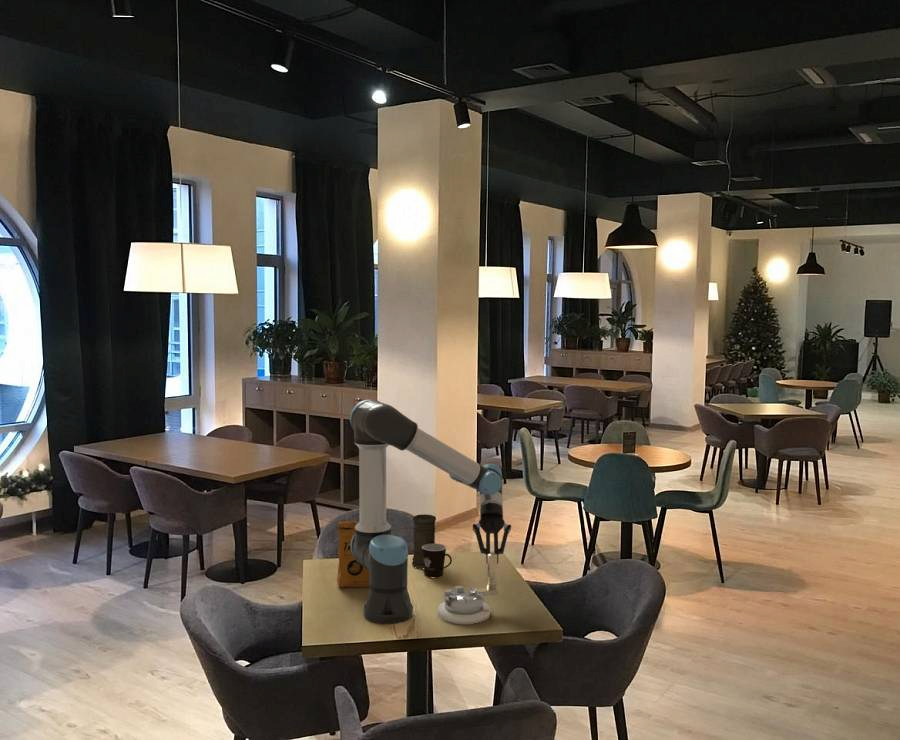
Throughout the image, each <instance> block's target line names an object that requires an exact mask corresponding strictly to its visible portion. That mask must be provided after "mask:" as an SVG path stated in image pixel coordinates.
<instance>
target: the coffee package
mask: <svg viewBox="0 0 900 740" xmlns="http://www.w3.org/2000/svg"><path fill="white" fill-rule="evenodd" d="M358 523H359V521H338V522H337V529H338V541H339V543H338V545H339V546H338V551H337V554H338V566H337V575H336V576H337V578H336V583H337V586H338V587H339V588H340V587H343V588H369V585H370V584H369V571H368V570H367V569H366V568H365V567H364V566H362V565H361V564H360V563H358V562H357V561H356V559H355V558H354V556H353V554H352V552H351V540H352V537H353V535H354V534H355V526H356V525H357V524H358Z"/></svg>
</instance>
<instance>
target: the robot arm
mask: <svg viewBox="0 0 900 740" xmlns="http://www.w3.org/2000/svg"><path fill="white" fill-rule="evenodd" d="M349 415H350V416H349V423H350V425H351V428H352V429H353V434H354V438H353V439H354V441H353V442H354V445H356V446H357V447H358V452H359V453H358V455H359V456H358V457H359V459H358V461H359V462H358V464H359V465H358V467H359V468H358V469H359V470H358V471H359V474H358V475H359V476H358V478H359V483H358V484H359V485H358V486H359V487H358V488H359V498H358V501H359V505H358V507H359V508H358V509H359V521H358V522H359V523H358V524H357V525H356V526H355V534H354V535H353V537H352V540H351V552H352V554H353V556H354V558H355V559H356V561H357V562H358V563H360V564H361V565H362V566H364V567H365V568H366V569H367V570H368V571H369V584H370V585H369V587H368V588H369V590H368V593H367V596H366V601H365V604H364V606H363V617H364V619H366V620H368V621H370V622H372V623H373V622H374V623H378V624H397V623H401V622H405V621H407V620H409V619H411V618H412V617H413V616H414V615H413V614H414V606H413V604H412V601H411V597H410V594H409V591H408V569H409V568H408V567H409V566H408V565H409V564H408V563H409V561H408V557H409V551H408V544H407V542H406V540H404V539H403V538H402V537H400V536H397V535H396V536H395V535H393V534H392V526H391V524H390V523H389V522H388V521H387V448H388V446H390V447H391V446H392V447H394V448H396V449H397V450H399V451H407V452H409V453H411V454H413V455H415V456H416V457H419V458H420V459H422V460H424V461H426V462H427V463H429V464H430V465H432V466H434V467H436V468H438V469H440V470H441V471H443V472H445V473H446V474H448V476H449V477H450V479H451V480H453V481H455V482H457V483H460V484H463V485H464V486H467V487H469V488H471V489H474V490H476V491H478V492H479V495H480V496H479V497H480V498H479V502H480V503H479V505H480V510H479V511H480V515H479V517H480V518H479V520H478V522H477V523H473V524H472V532H474V533H475V536H476V539H477V543H478V547H479V552H480V554H484V555H485V558H486V559H485V561H486V564H487V558H488V553H496V554H497V565H498V564H499V555H503V554H504V551H505V548H506V543H507V539H508V536H509V533H510V532H511V530H512V524H507V523H506V521H505V520H504V508H503V503H504V502H503V501H504V500H503V474H502V469H501V467H500V466H499V465H497V464H491V463H485V464H484V465H481V464H479V463H478V462H477V461H475V460H474V459H471V458H470V457H469V456H466V455H465V454H463V453H461V452H459V451H458V450H456V449H455V448H453V447H451V446H450V445H448V444H446V443H444V442H443V441H441V440H439V439H437V438H436V437H434V436H432V435H431V434H429V433H427V432H425V431H424V430H422V429H420V428H419V425H418V423H417V422H415V421H413V420H412V419H410V418H409V417H407V416H406V415H405V414H403V413H402V412H400V411H399V410H398V409H397V408H395V407H394V406H392V405H390V404H387V403H384V402H381V401H379V400H377V399H364V400H362V401H360V402H358V403H357V404H356V405H354V407H353V408H352V410H351V411H350V414H349ZM481 529H482V530H483V532H484V533H485V541H486V542H485V545H484V541H483V538H482V535H481ZM502 529H503V531H504V532H503V535H502V539H501V544H500V548H499V533H500V532H501V530H502ZM491 534H493V551H491Z"/></svg>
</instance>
